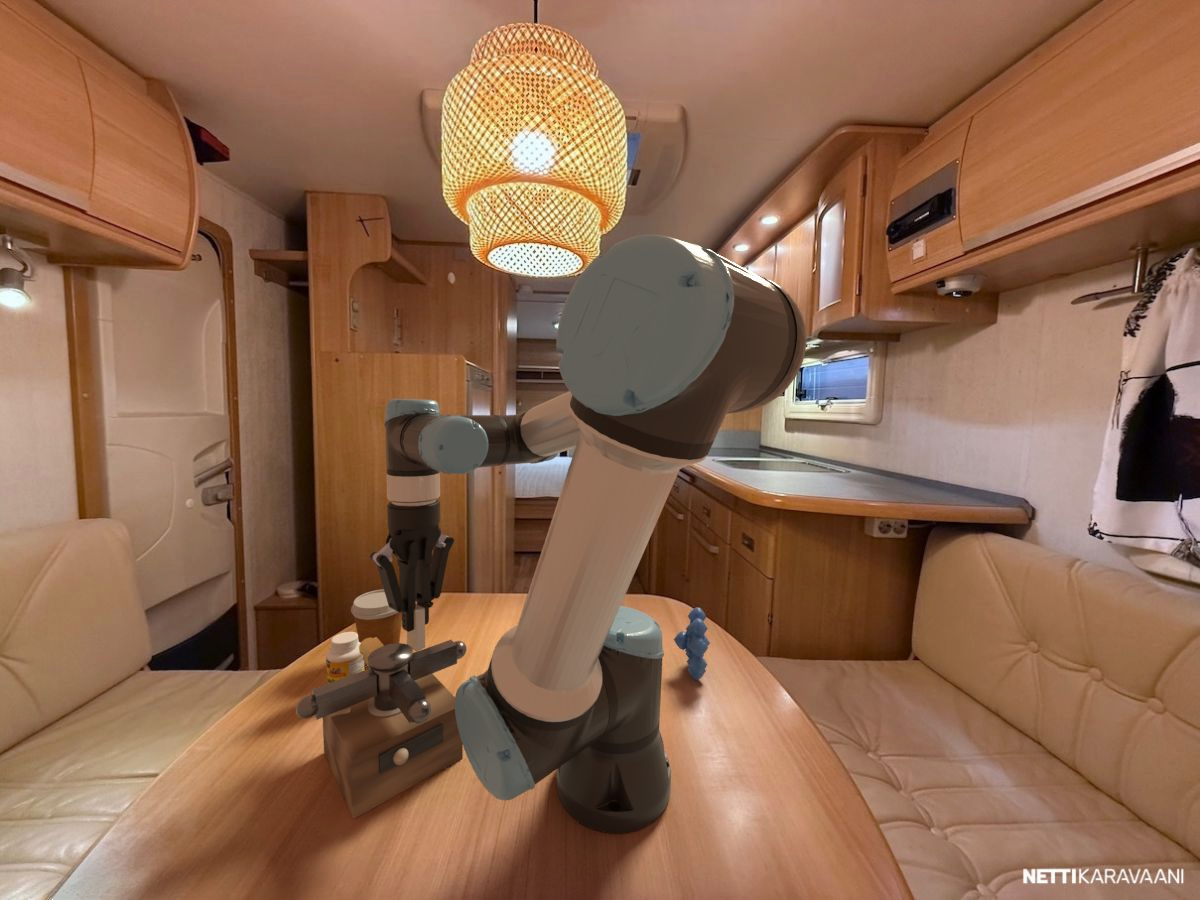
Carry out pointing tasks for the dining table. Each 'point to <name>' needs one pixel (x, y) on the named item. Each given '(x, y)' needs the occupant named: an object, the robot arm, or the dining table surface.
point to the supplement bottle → (344, 657)
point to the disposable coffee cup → (376, 618)
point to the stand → (390, 747)
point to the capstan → (385, 680)
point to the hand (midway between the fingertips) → (416, 646)
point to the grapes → (694, 643)
